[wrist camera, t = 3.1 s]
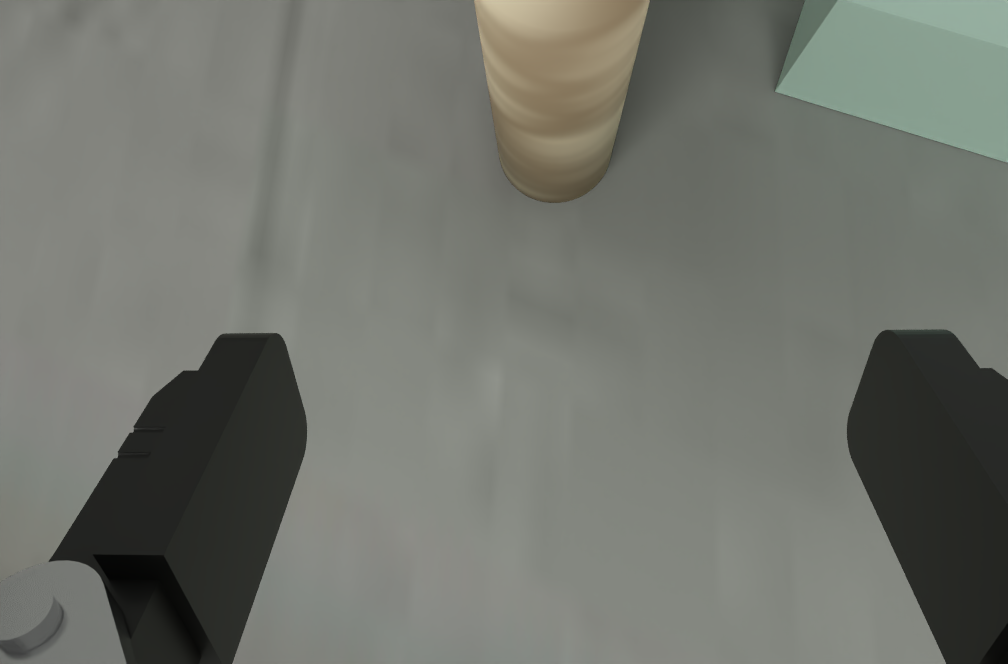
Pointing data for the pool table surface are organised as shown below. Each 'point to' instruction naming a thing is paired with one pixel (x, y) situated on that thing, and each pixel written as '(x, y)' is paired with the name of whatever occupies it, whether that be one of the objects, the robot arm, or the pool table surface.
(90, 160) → the pool table surface
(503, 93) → the pin
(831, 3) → the socket block
